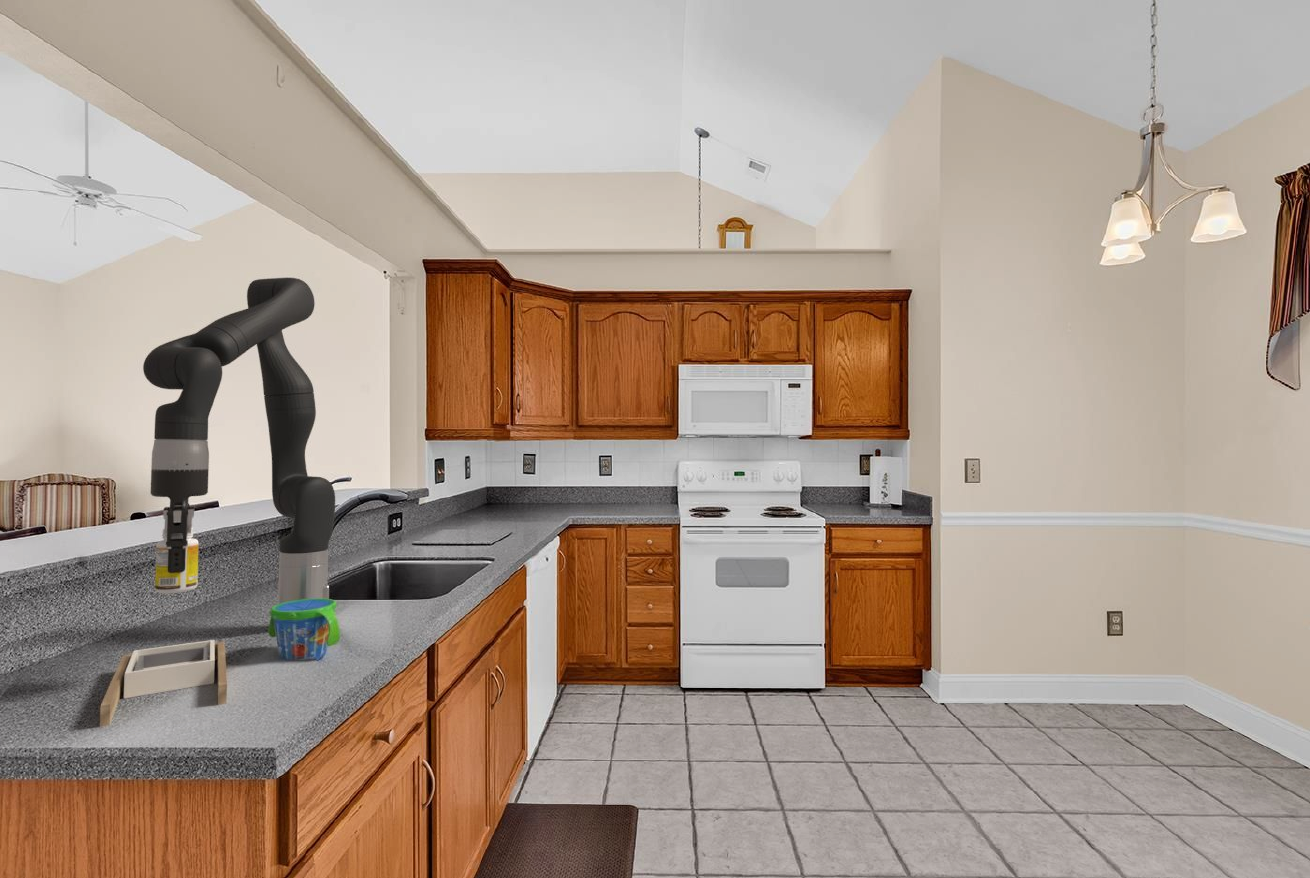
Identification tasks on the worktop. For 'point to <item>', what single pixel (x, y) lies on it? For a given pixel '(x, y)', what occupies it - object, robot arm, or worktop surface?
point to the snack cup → (304, 628)
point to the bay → (118, 679)
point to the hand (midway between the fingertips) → (177, 568)
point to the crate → (170, 668)
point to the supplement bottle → (180, 580)
